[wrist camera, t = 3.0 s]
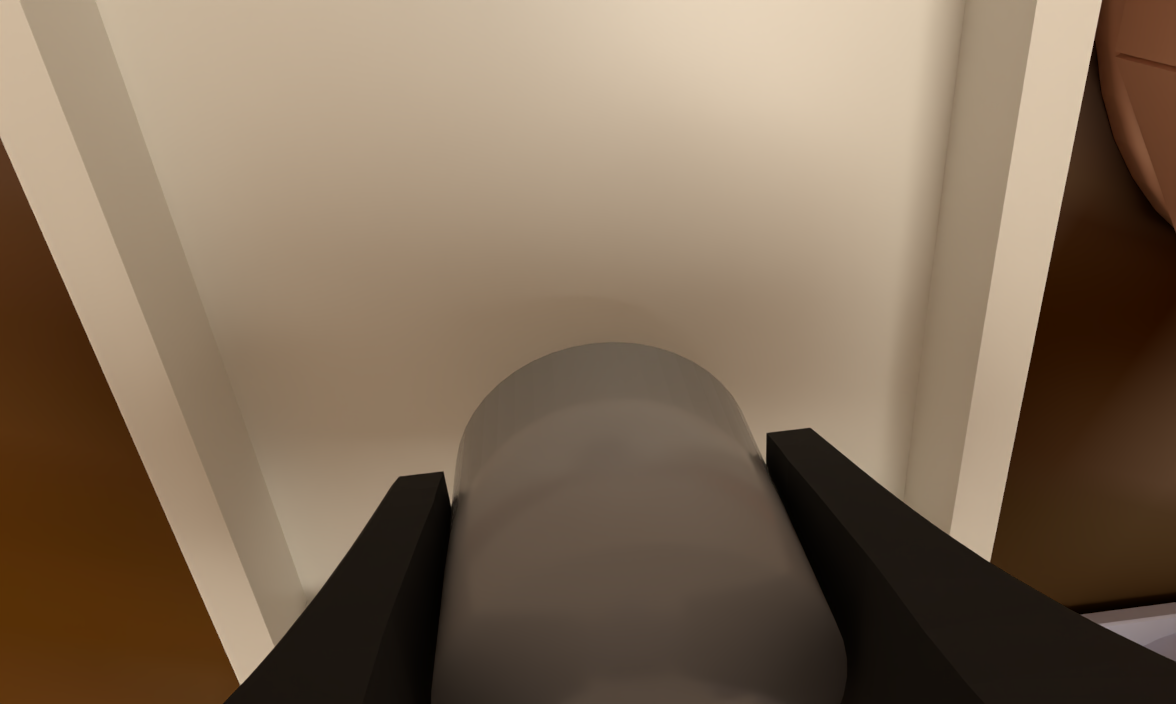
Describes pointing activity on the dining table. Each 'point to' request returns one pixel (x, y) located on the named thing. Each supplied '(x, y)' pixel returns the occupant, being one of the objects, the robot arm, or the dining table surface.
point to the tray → (535, 234)
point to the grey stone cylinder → (625, 547)
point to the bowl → (1142, 92)
